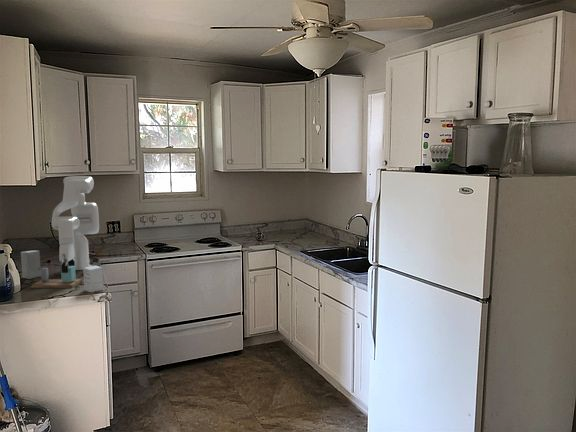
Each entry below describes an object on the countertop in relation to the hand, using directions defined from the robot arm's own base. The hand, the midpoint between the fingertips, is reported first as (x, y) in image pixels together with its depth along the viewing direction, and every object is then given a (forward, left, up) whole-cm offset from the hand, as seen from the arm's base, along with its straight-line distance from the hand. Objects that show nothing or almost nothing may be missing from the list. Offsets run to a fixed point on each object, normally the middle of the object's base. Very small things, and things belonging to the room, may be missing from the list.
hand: (68, 270), depth 266 cm
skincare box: (-17, -29, -8) cm, 35 cm away
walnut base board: (+1, -6, -8) cm, 10 cm away
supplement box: (+13, +18, -8) cm, 24 cm away
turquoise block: (+1, 0, -6) cm, 6 cm away
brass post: (+1, 0, -6) cm, 7 cm away
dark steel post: (+1, -13, -6) cm, 14 cm away
